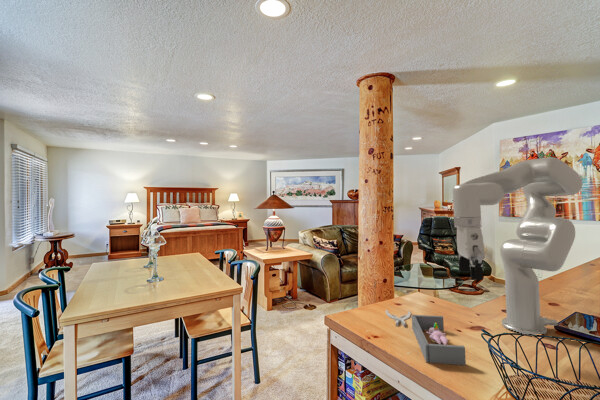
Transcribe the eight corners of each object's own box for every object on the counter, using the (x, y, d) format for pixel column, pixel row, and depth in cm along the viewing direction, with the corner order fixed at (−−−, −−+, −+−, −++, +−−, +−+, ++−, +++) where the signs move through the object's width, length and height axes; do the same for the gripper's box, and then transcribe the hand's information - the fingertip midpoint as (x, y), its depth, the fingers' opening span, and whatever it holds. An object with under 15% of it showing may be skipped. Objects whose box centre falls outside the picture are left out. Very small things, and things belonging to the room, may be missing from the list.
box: (443, 329, 101) (442, 316, 101) (465, 365, 80) (465, 347, 80) (412, 328, 103) (411, 314, 103) (426, 362, 82) (425, 345, 82)
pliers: (409, 308, 118) (414, 324, 104) (409, 312, 118) (414, 328, 104) (385, 307, 121) (386, 322, 106) (385, 311, 121) (387, 326, 106)
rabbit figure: (424, 335, 101) (432, 349, 87) (422, 317, 102) (430, 329, 88) (443, 336, 99) (454, 351, 85) (441, 318, 100) (452, 330, 86)
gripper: (493, 224, 81) (496, 283, 81) (469, 219, 98) (472, 268, 98) (465, 225, 82) (468, 283, 82) (446, 220, 99) (449, 268, 99)
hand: (470, 275), depth 90 cm, fingers open, 9 cm apart
